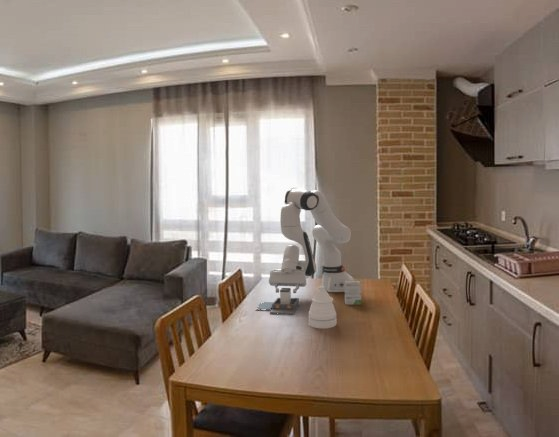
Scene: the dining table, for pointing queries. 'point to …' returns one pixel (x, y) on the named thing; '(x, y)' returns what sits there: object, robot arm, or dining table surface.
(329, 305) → the honey pot
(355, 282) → the ink box
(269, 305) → the mat
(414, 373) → the dining table surface
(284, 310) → the equipment case
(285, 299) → the block
